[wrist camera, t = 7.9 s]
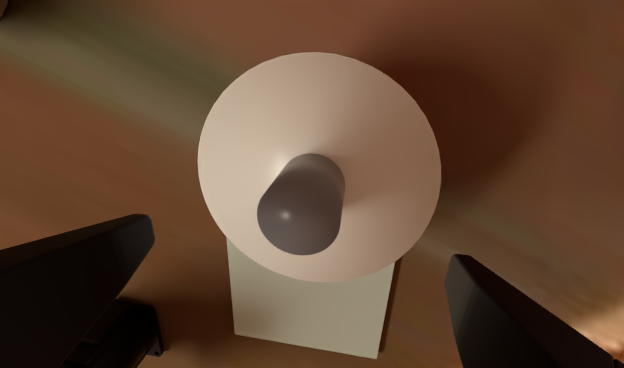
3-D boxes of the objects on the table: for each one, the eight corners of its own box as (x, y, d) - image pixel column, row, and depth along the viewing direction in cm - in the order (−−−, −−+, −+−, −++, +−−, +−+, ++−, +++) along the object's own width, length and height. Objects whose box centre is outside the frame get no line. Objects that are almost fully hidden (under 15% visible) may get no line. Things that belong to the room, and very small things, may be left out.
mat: (376, 352, 26) (376, 359, 25) (237, 328, 27) (234, 334, 27) (399, 227, 21) (400, 231, 20) (227, 206, 22) (224, 210, 22)
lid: (413, 285, 15) (430, 354, 12) (216, 259, 17) (176, 313, 13) (463, 57, 11) (513, 54, 7) (192, 48, 12) (122, 42, 9)
